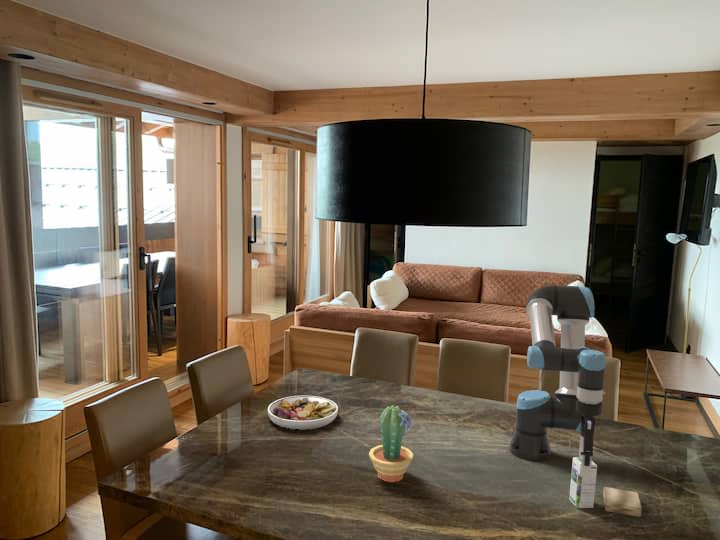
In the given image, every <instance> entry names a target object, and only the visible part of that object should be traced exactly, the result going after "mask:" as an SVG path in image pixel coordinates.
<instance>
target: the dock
mask: <svg viewBox="0 0 720 540" xmlns="http://www.w3.org/2000/svg"><path fill="white" fill-rule="evenodd" d="M602 490H603V491H602V497H603V504H604V509H605V511H606V512H610V513H615V514H621V515H625V516H632V517H636V518H637V517H639V518H642V509H643V507H642V505H641V501H640V498H639V493H638V492H636V491H632V490H631V491H630V490H624V489H619V488H612V487H607V486H603V489H602Z"/></svg>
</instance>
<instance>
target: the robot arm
mask: <svg viewBox="0 0 720 540" xmlns="http://www.w3.org/2000/svg"><path fill="white" fill-rule="evenodd" d="M595 309H596V307H595V299H594V295H593V292H592V290H591V289H590V287H587V286H578V285H577V286H576V285H555V284H554V285H553V284H547V285H542V286H540V287H538V288H537V289H535V290H533V292H532V293H531V294H530V295H529V296H528V298H527V300H526V304H525V311H526V313H527V316H528V317H529V323H530V332H531V333H530V335H531V342H532V343H531V344H532V345H530V346H528V349H527V355H526V362H527V363H526V364H527V367H528V368H529V369H533V370H539V371H553V372H554V371H557V372H559V388H558V389H557V390H556V391H554V396H551V395H550V393H549V392H547V391H545V390H544V391H543V390H539V389H530V390H525V391H523V392H521V393H519V395H518V396H517V398H516V400H517V401H516V405H515V406H516V415H515V416H516V417H515V431H514V433H513V434H512V437H511V439H510V441H509V451H510V453H511V454H513V456H515V457H518V458H520V459H524V460H526V461H527V460H528V461H536V462H537V461H545V460H547V459H550V457H551V456H552V455H551V454H552V449H551V447H552V446H551V444H550V440H549V436H548V429H554V430H563V431H572V432H580V434H579V435H580V437H579V449H578V450H579V451H578V452H579V453H578V457H582V466H581V475H587V476H591V464H592V461H593V457H594V435H595V434H594V433H595V426H596V420H595V419H596V418H595V417H598V416H600V415H602V413H603V412H602V411H603V398H604V397H603V395H606V391H604V385H605V373H606V366H607V363H606V359H607V358H606V354H605V353H604V352H603V351H600V350H597V349H592V348H590V347H586V346H585V343H586V341H585V340H586V339H585V338H586V336H585V335H586V326H587V325H588V324H589V323H590V319H592V318H594V317H595ZM552 316H556V317H557V318H556V321H557V322H558V323H559V324H560V347H557V345H556V339H555V333H554V328H553V326H554V325H553V321H552Z"/></svg>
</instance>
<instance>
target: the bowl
mask: <svg viewBox="0 0 720 540" xmlns="http://www.w3.org/2000/svg"><path fill="white" fill-rule="evenodd" d="M338 413H339V407H338V404H337V403H336V402H335V401H333V400H331V399H328V398H326V397H322V396H318V395H317V396H316V395H315V396H314V395H294V396H292V395H291V396H287V397H283V398H280V399H277V400H275V401H273V402H272V403H270V404H269V405H268V407H267V415H268V418H269V419H270V420H271V421H272V422H273V423H274V424H275V425H277V426H279V427H281V428H284V427H285V428H284V429H288V428H289V430H295V429H299V430H298V431H306V430H307V429H309V430H314V429H315V430H316V429H319V428H324V427H326V426H327V425H329V424H331V423H332V422H333V421H334V420H335V419H336V418H337V416H338ZM307 431H308V430H307Z"/></svg>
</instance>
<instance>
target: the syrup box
mask: <svg viewBox="0 0 720 540" xmlns="http://www.w3.org/2000/svg"><path fill="white" fill-rule="evenodd" d="M581 466H582V457H581V456H575V457H572V465H571V475H570V486H569V487H570V488H569V496H568V497H569V498H568V499H569V501H570V502H571V503H572V505H574V507H575V508H576V509H592V508H593V509H594V503H595V496H596V495H595V494H596V483H597V474H598V473H597V472H598V471H597V470H598V464H596V463H595V462H594V461H593V460H592V464H591V476H587V475H581Z"/></svg>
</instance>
